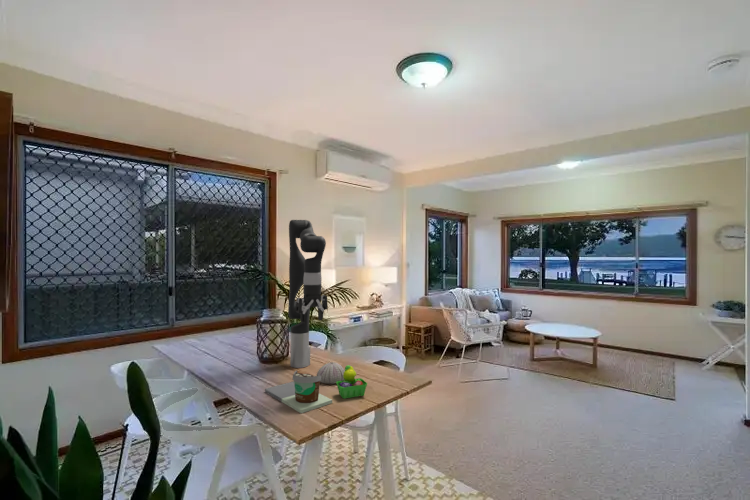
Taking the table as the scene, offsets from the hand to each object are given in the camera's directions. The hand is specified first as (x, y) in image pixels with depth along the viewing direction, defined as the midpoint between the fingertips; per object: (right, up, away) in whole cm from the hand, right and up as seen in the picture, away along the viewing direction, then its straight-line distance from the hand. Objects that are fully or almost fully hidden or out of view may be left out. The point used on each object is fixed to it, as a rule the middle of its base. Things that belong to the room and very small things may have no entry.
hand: (311, 321), depth 154 cm
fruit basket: (+17, -30, -5) cm, 34 cm away
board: (-4, -29, -8) cm, 30 cm away
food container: (-1, -28, -15) cm, 32 cm away
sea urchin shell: (+7, -30, +12) cm, 33 cm away
